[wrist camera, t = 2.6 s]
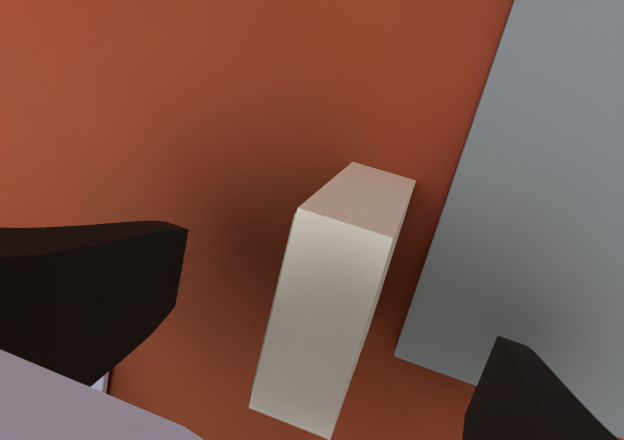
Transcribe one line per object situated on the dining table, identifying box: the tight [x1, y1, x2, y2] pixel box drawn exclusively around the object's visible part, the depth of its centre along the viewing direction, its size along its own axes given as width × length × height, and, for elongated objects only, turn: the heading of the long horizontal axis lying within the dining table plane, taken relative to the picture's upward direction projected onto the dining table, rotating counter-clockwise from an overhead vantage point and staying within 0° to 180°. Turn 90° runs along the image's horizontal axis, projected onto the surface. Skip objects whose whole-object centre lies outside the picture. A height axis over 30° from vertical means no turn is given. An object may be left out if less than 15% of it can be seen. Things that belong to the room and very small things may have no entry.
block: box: [249, 162, 416, 440], centre depth 14 cm, size 5×2×6 cm, turn 166°
